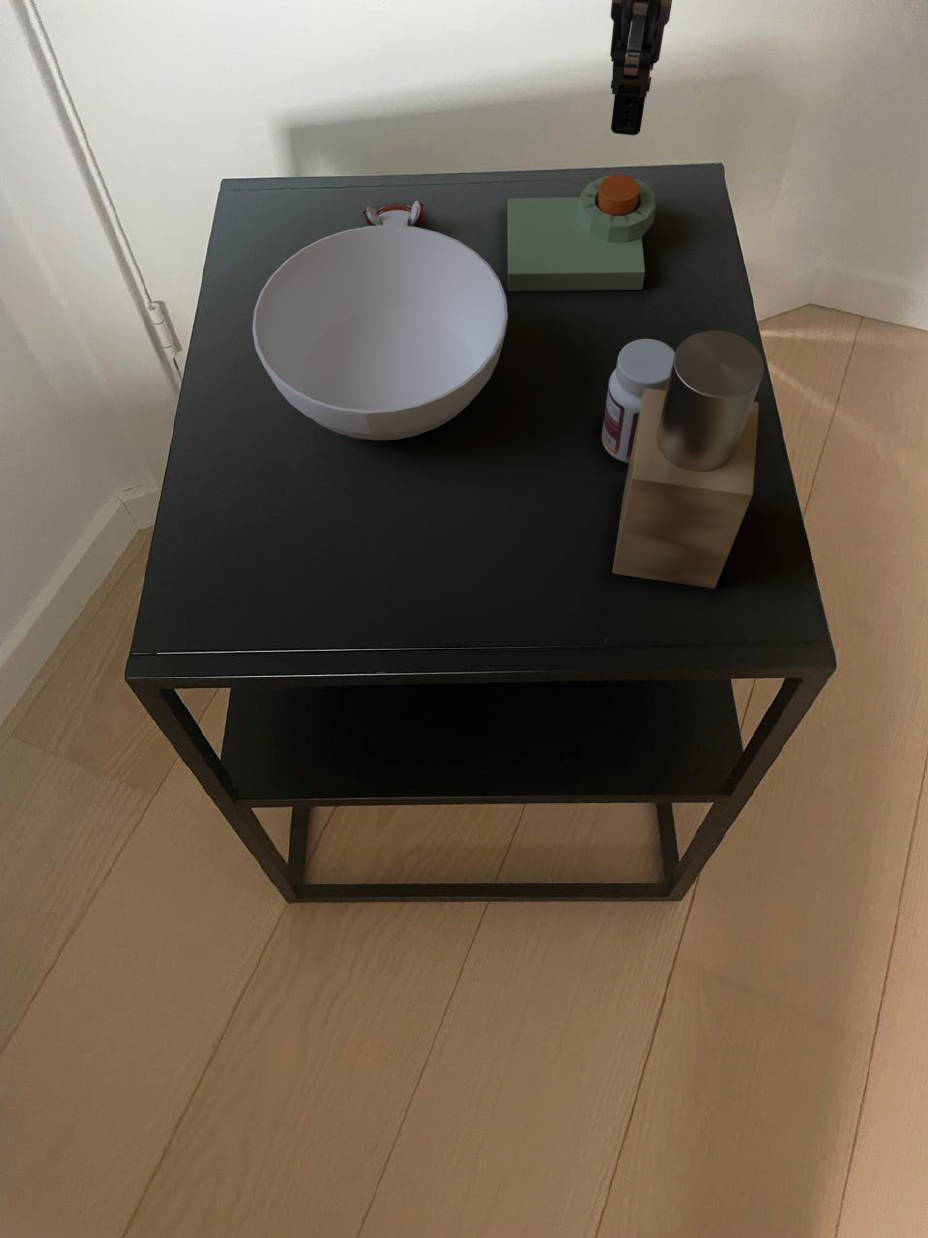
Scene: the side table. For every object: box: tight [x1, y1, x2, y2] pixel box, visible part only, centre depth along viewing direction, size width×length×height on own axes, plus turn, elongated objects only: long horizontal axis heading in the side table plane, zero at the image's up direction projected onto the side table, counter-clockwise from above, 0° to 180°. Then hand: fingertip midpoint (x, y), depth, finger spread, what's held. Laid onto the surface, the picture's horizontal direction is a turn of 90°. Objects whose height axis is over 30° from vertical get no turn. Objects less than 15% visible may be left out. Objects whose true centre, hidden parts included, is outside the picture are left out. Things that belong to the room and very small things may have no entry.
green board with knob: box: [506, 175, 657, 292], centre depth 79 cm, size 12×10×4 cm
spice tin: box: [657, 330, 765, 471], centre depth 54 cm, size 5×5×6 cm
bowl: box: [252, 225, 509, 441], centre depth 71 cm, size 18×18×7 cm
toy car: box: [362, 200, 425, 227], centre depth 80 cm, size 5×8×3 cm, turn 2°
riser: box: [612, 388, 760, 589], centre depth 62 cm, size 7×7×11 cm
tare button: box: [598, 174, 639, 216], centre depth 78 cm, size 3×3×2 cm
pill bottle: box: [601, 338, 676, 464], centre depth 67 cm, size 5×5×8 cm
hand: (625, 127), depth 73 cm, fingers closed
